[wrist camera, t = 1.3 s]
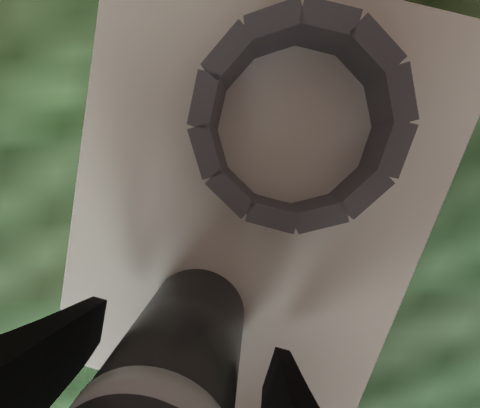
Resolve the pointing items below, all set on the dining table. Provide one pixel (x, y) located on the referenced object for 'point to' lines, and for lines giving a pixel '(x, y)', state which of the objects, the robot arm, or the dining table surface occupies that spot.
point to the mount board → (271, 168)
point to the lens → (176, 349)
